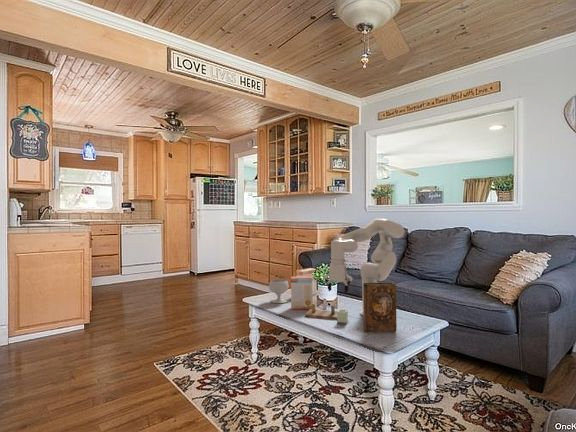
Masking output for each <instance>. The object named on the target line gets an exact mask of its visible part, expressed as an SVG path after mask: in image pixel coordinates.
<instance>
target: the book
mask: <svg viewBox="0 0 576 432" xmlns="http://www.w3.org/2000/svg"><path fill="white" fill-rule="evenodd" d="M363 298H364V316H363V332H364V333H366V334H371V333H372V334H373V333H374V334H377V333H378V334H382V333H385V334H386V333H396V332H397V327H398V326H397V286H396V284H393V283H392V282H377V283H363Z"/></svg>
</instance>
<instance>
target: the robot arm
mask: <svg viewBox="0 0 576 432" xmlns="http://www.w3.org/2000/svg"><path fill="white" fill-rule="evenodd" d="M377 234H379V240H380V241H379V243H378V245H377V246H376V248H375V250H374V251H372V254H371V257H370V261H371V262H365V263H363V264H362V265H360V276H361V282H362V283H361V286H362V288H361V289H362V290H361V291H362V293H361V294H362V296H361V298H362V309H361V310H360V312H359V315H361V316H363V317H364V298H363V283H378V281H379V282H381V281H385V280H386V279H387V278H388V276H389V275H390V273H391V271H393V269H394V267H395V265H396V263H397V254H396V253H395V251H392V250H393V247H394V245H393V242H392V238H393V239H400V238H402V237H403V236H404V234H405V228H404V227H403V226H402V225H401V224H400V223H398V222H395V221H393V220H390V219H386V218H374V219H372V220H370V221H368V222H367V223H366V224H364V225H363V226H361V227H360V228H357V229H355V230H352V231H350V232H346V233H345V234H344V235H341V236H339V238H338V239H333V240H331V242H330V257H331V258H330V263H329V269H328V273H327V274H325V275H323V277H322V278H323V280H324V282H326V284H327V289H328V292H330V291H332V282H335V283H336V282H338V283H343V284H344V293H347V292H349V285H350V284H351V283H352V281H353V279H354V278H353V277H352V276H351V275H349V274H348V269H347V265H346V263H347V262H348V260H346V259H345V253H354V252H356V251H357V250H358V248H359V247H358V243H362V242H365V241H366V242H367V241H369V240H370V239H371V238H373V237H374V236H376V235H377ZM348 279H349V280H348Z"/></svg>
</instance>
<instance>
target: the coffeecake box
mask: <svg viewBox="0 0 576 432" xmlns="http://www.w3.org/2000/svg"><path fill="white" fill-rule="evenodd" d="M315 270H316V271H317V269H316V268H312V267H310V268H309V267H308V268H302V269H296V270H295V271H296V276H312V273H313V272H315ZM317 285H318V284H317V279H316V280H315V279H314V278H313V277H312V286H313V296H315V295H317V294H318V291H317V287H318V286H317Z"/></svg>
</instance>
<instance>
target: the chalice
mask: <svg viewBox="0 0 576 432" xmlns="http://www.w3.org/2000/svg"><path fill="white" fill-rule="evenodd" d="M289 288H290V286H289V282H288V280H287V279H284V278H275V279H274V278H273V279H271V280H270V281H269V283H268V289H269V290H270V292H272V293H274V294H275V295H276V296H277V298H274V299H271V300H269V301H270V303H273V304H284V303H287V302H288V299H285V298H281V296H282V295H283V294H284V293H285V292H287V291H288V290H289Z"/></svg>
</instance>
